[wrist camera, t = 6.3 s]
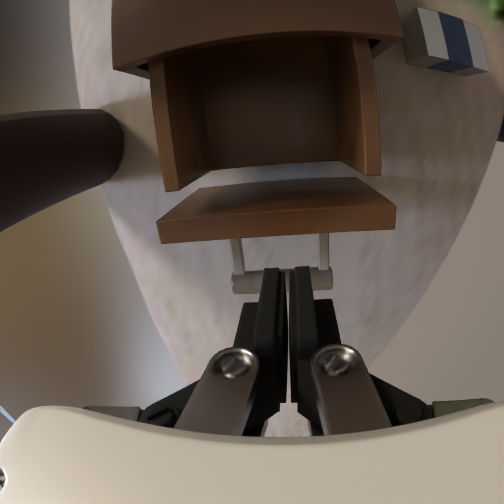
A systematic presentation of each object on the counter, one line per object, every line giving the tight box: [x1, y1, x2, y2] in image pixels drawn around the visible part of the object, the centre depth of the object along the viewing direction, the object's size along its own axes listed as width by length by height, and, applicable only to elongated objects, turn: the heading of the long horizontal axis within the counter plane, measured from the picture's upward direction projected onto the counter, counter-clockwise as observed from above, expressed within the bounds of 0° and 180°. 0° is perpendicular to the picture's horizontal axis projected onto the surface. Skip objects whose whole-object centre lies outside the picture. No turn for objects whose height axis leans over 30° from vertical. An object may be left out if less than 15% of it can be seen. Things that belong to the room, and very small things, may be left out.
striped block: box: [400, 7, 489, 76], centre depth 12 cm, size 6×4×4 cm
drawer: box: [148, 36, 396, 294], centre depth 15 cm, size 18×11×8 cm, turn 6°
